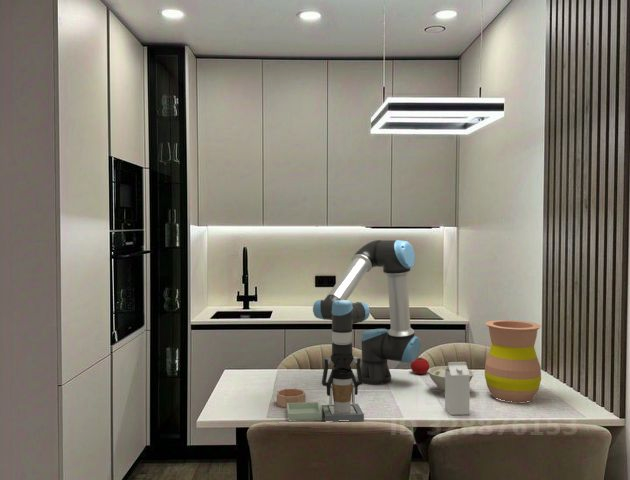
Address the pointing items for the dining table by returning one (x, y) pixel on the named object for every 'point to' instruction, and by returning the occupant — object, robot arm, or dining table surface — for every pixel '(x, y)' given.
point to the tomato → (420, 366)
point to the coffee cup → (342, 389)
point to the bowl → (441, 376)
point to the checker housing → (336, 417)
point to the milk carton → (457, 388)
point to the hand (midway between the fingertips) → (342, 403)
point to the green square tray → (304, 411)
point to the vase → (513, 360)
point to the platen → (332, 411)
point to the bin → (290, 397)
